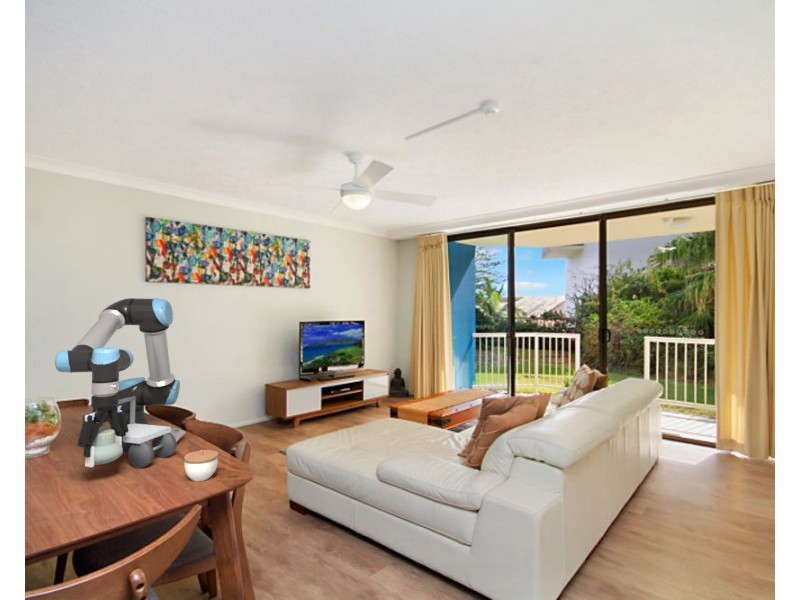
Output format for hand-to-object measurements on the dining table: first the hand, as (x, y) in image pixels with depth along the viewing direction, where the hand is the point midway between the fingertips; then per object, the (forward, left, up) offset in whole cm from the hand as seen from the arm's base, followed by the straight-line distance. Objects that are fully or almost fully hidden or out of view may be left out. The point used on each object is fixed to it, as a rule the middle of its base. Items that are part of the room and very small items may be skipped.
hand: (103, 460), depth 145 cm
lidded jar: (-10, +30, -6) cm, 32 cm away
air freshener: (0, 0, -1) cm, 1 cm away
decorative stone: (-39, -9, -6) cm, 40 cm away
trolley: (-18, -5, -6) cm, 19 cm away
